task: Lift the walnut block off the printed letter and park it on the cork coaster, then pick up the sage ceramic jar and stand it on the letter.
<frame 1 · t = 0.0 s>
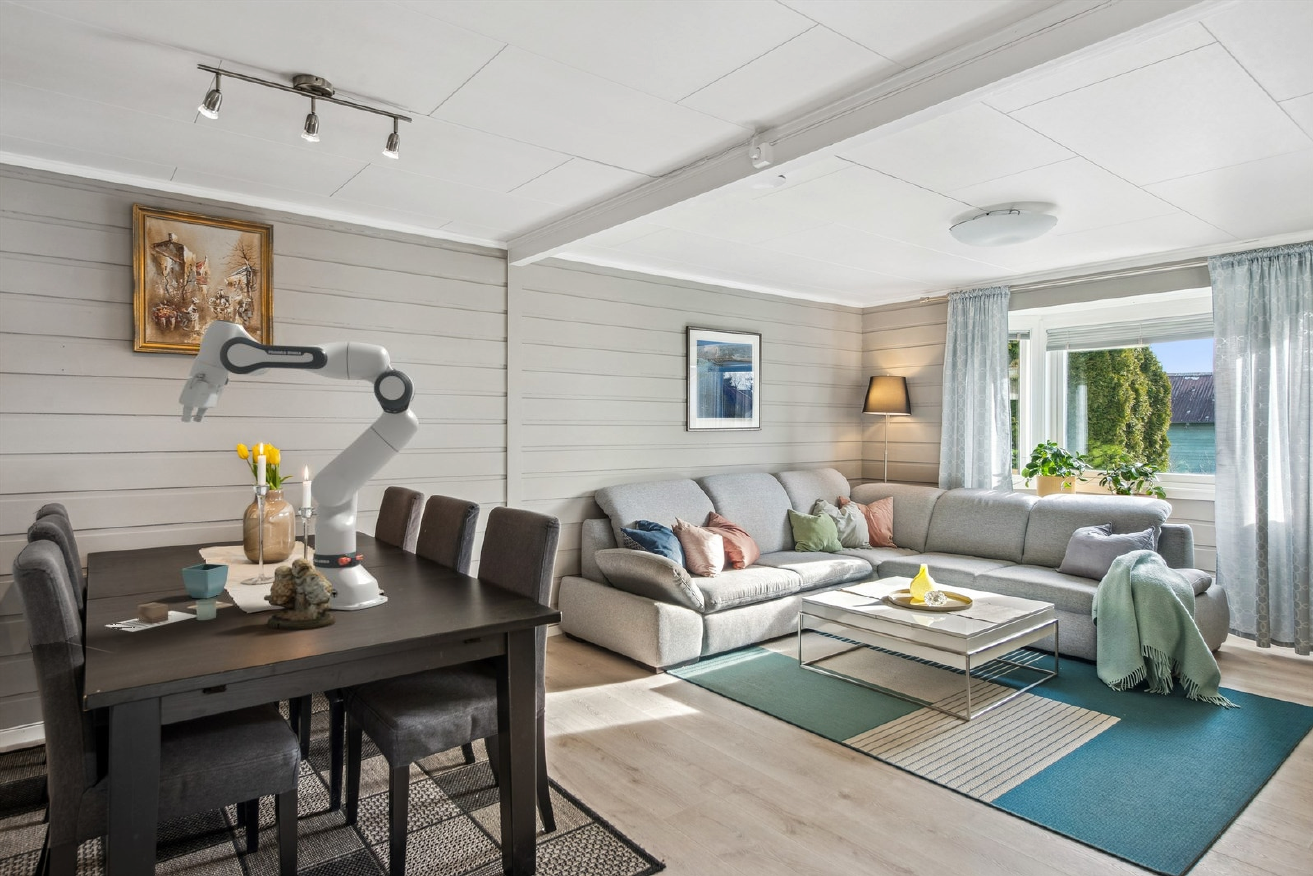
hand: (191, 421, 211), 52 cm above the table, tool tilted 20°, fingers open, 8 cm apart
coaster: (210, 607, 212), on the table
jar: (206, 619, 200), on the table
walnut block: (153, 620, 197), resting on letter
flower pot: (205, 597, 226), on the table
letter: (153, 621, 197), on the table
owl figurine: (299, 624, 196), on the table
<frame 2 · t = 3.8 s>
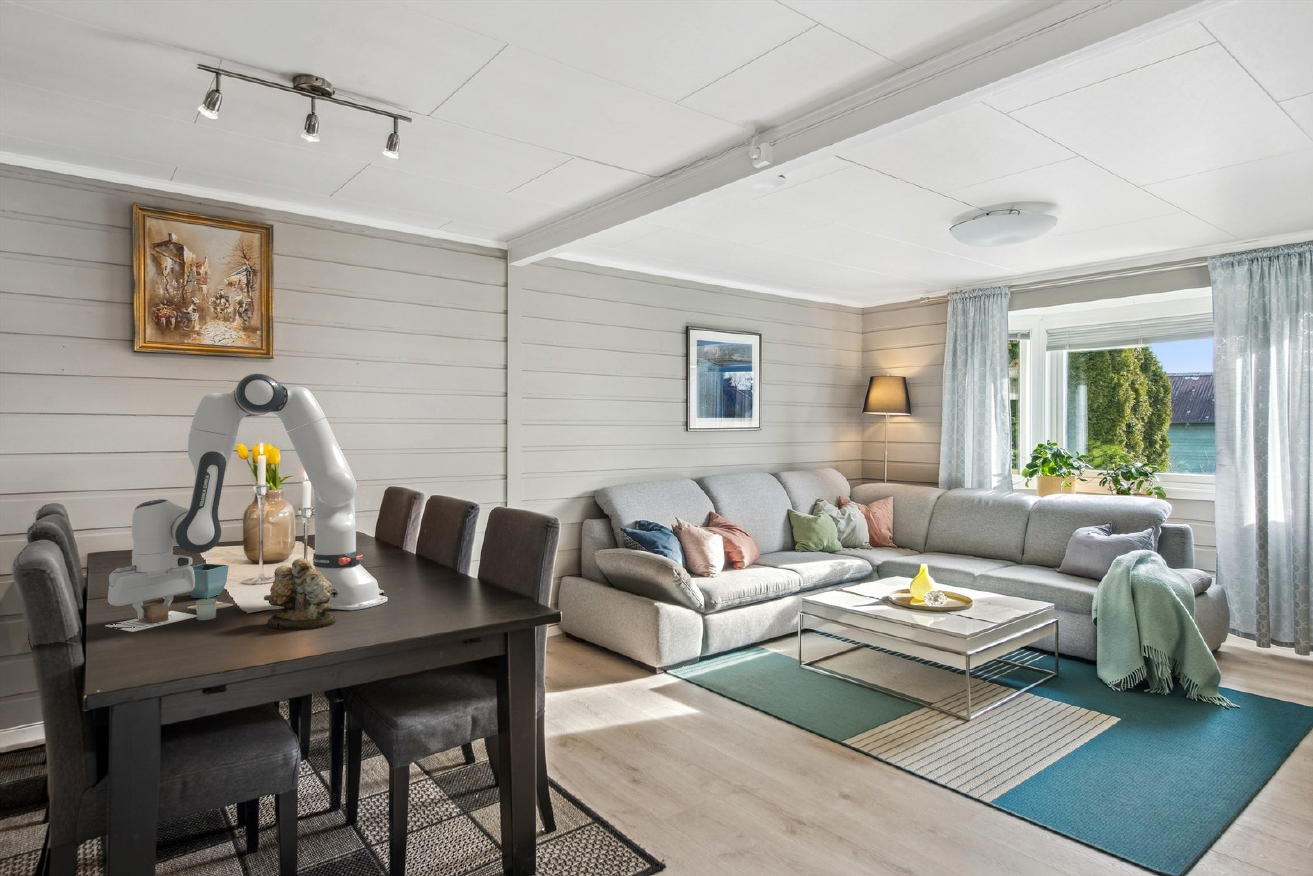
hand: (153, 615, 197), 2 cm above the table, tool pointing down, fingers closed on walnut block, 4 cm apart
walnut block: (153, 620, 197), resting on letter, touching gripper
everything else where it was.
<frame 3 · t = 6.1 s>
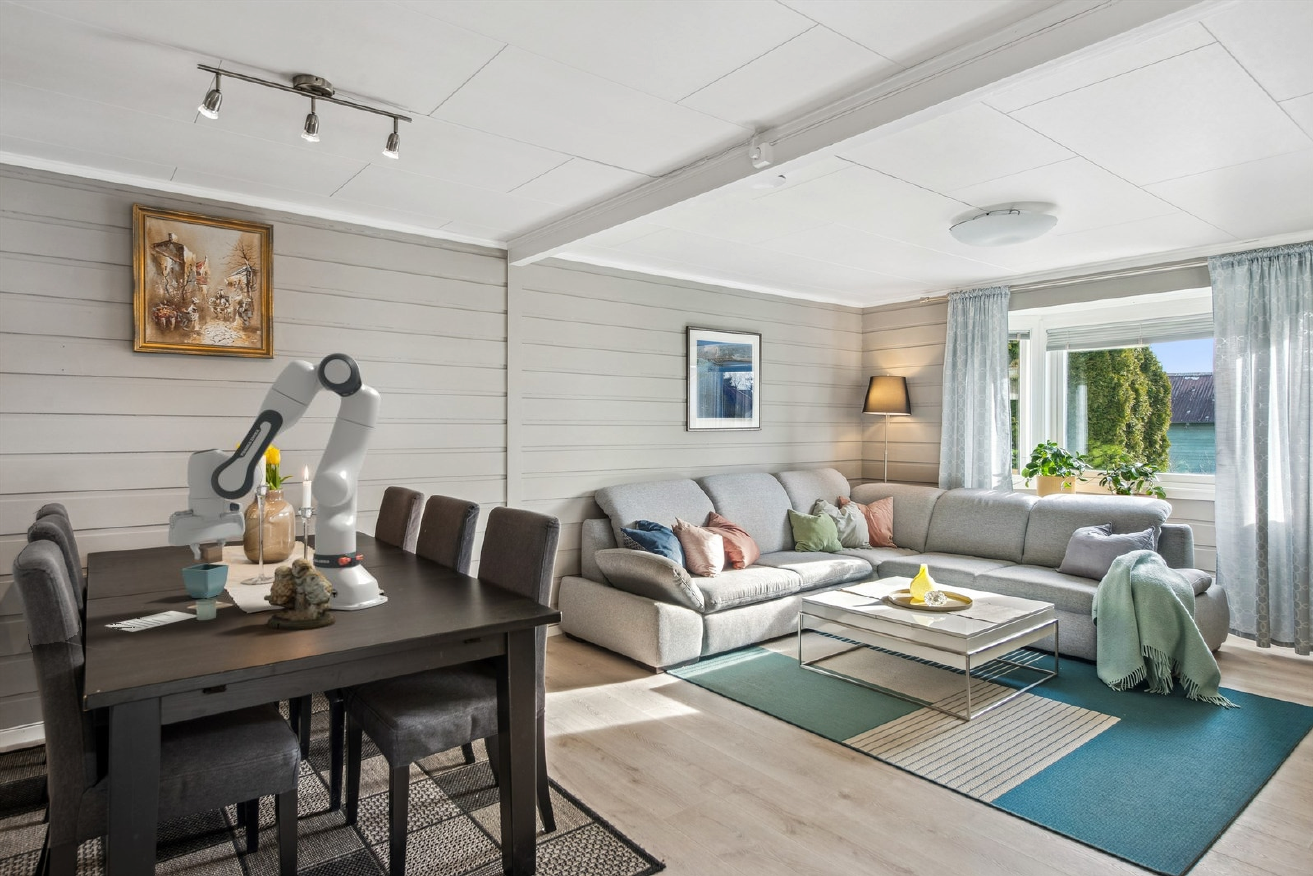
hand: (208, 557, 211), 14 cm above the table, tool pointing down, fingers closed on walnut block, 4 cm apart
walnut block: (208, 561, 211), point 13 cm above the table, touching gripper
everything else where it was.
when the fingers open (3 cm above the table, at t = 8.4 s): walnut block drops 1 cm, resting on coaster.
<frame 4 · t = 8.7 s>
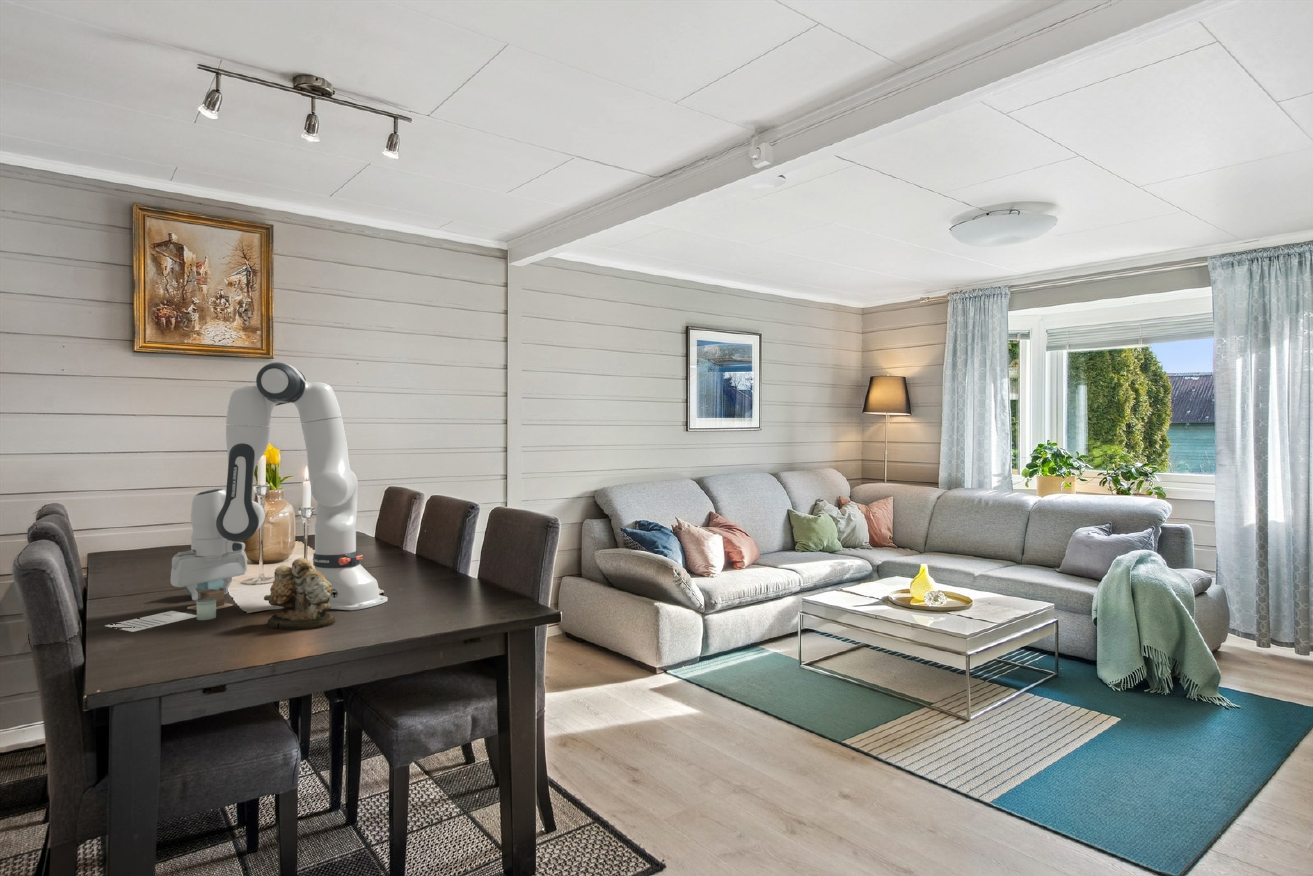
hand: (210, 596, 212), 3 cm above the table, tool pointing down, fingers open, 6 cm apart
walnut block: (210, 605, 212), point 1 cm above the table, touching coaster
everything else where it was.
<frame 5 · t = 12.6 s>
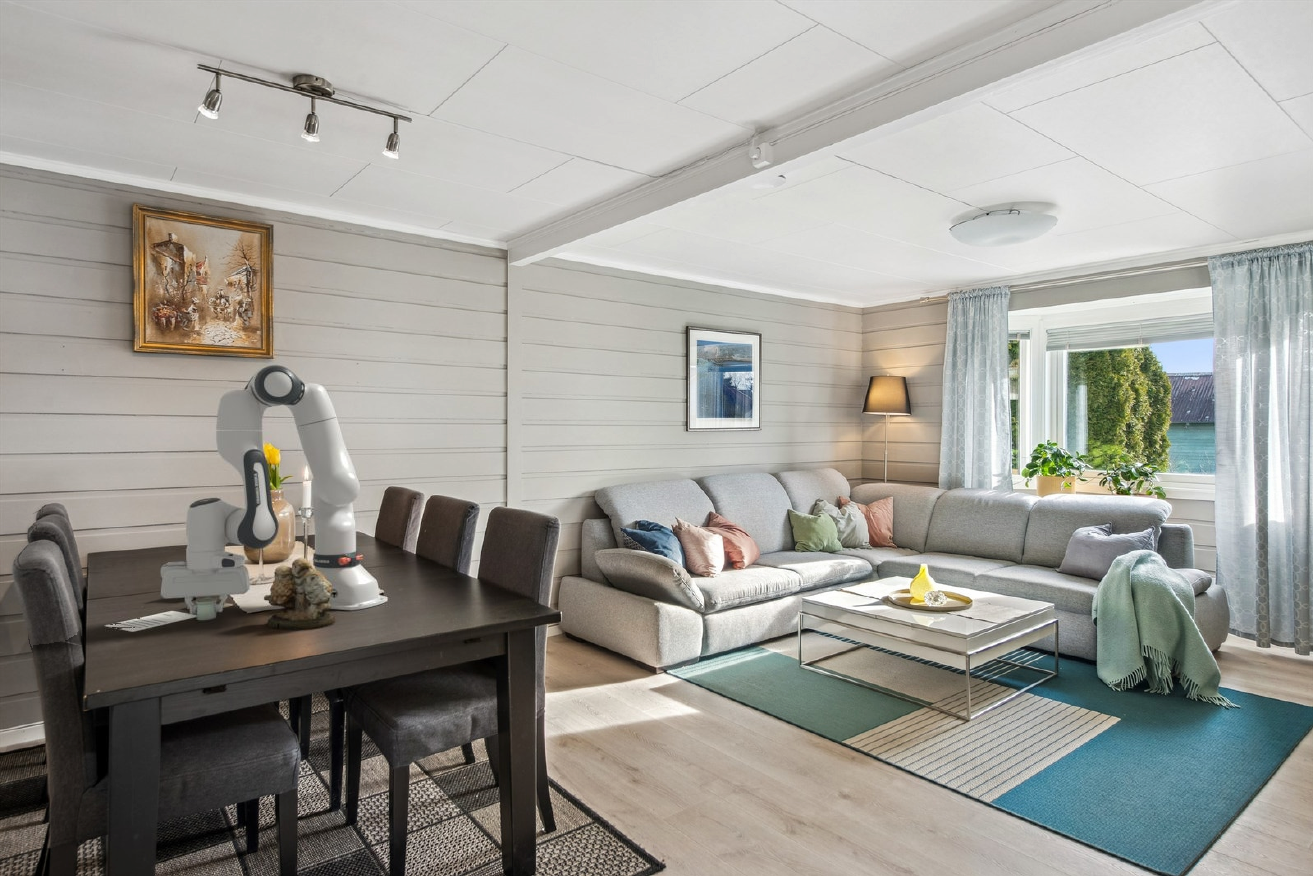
hand: (206, 612, 200), 2 cm above the table, tool pointing down, fingers closed on jar, 4 cm apart
jar: (206, 619, 200), on the table, touching gripper
everything else where it was.
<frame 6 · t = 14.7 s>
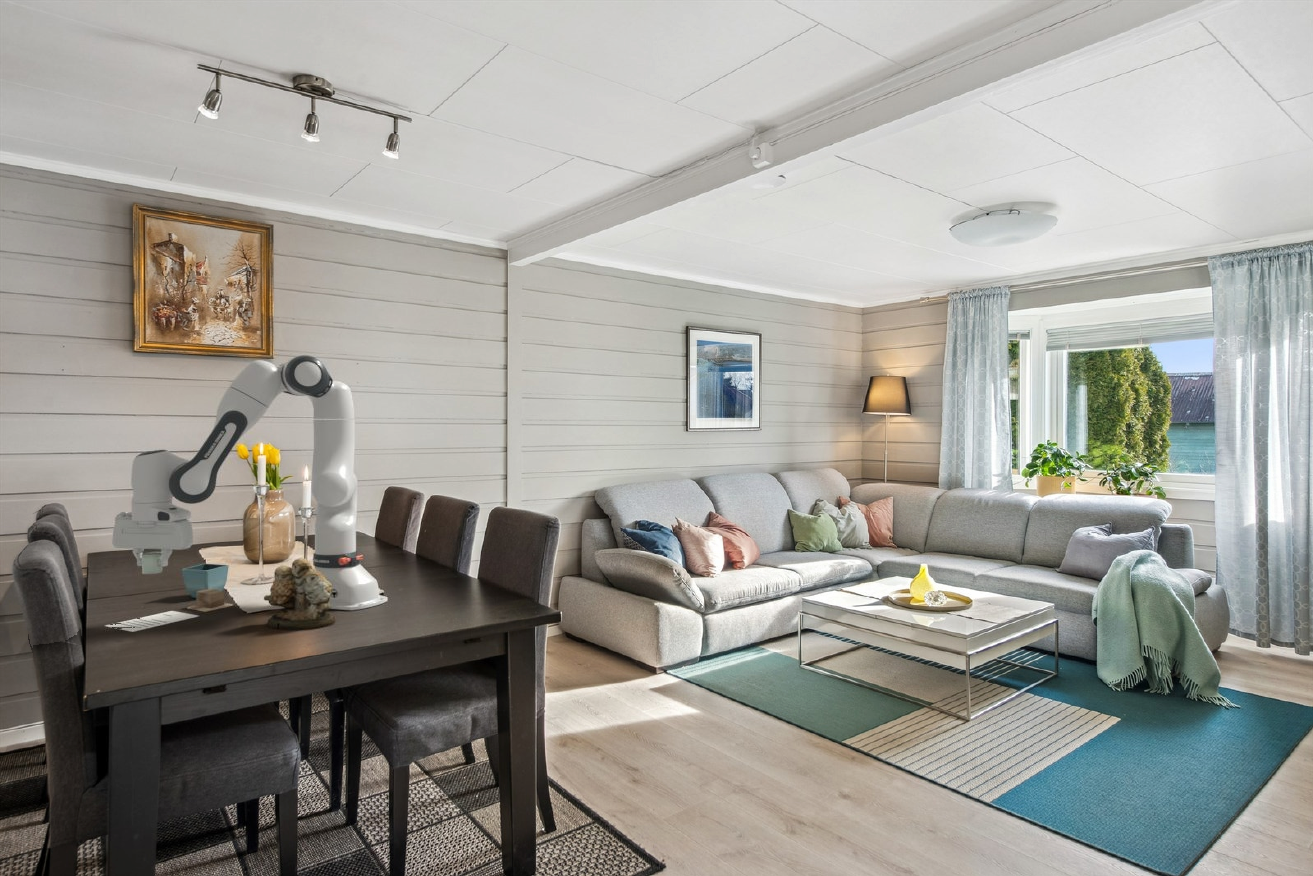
hand: (152, 565, 197), 15 cm above the table, tool pointing down, fingers closed on jar, 4 cm apart
jar: (152, 572, 197), point 13 cm above the table, touching gripper
everything else where it was.
when the fingers open (3 cm above the table, at t = 17.0 s): jar drops 1 cm, resting on letter.
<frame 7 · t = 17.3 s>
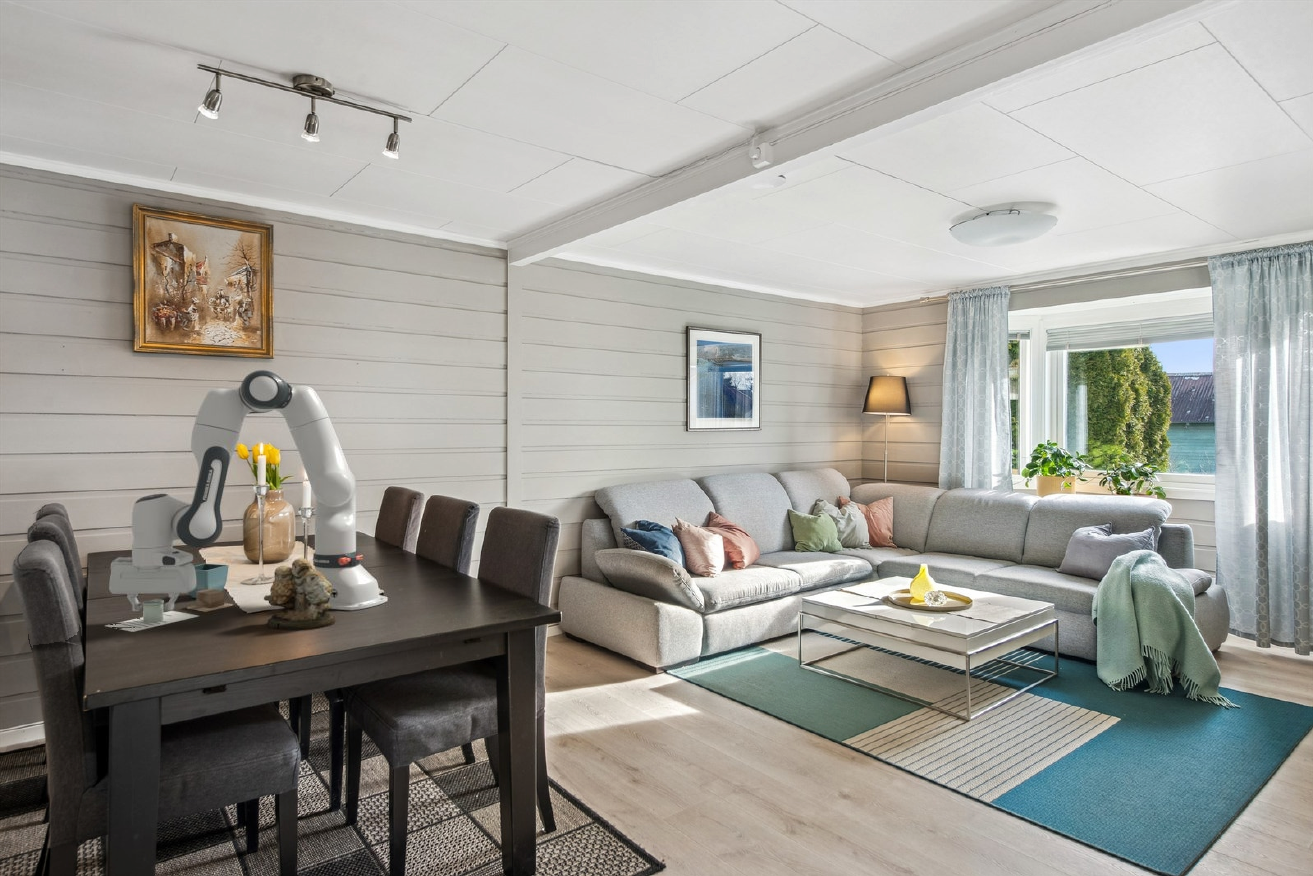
hand: (153, 610, 197), 3 cm above the table, tool pointing down, fingers open, 7 cm apart
jar: (153, 620, 197), resting on letter
everything else where it was.
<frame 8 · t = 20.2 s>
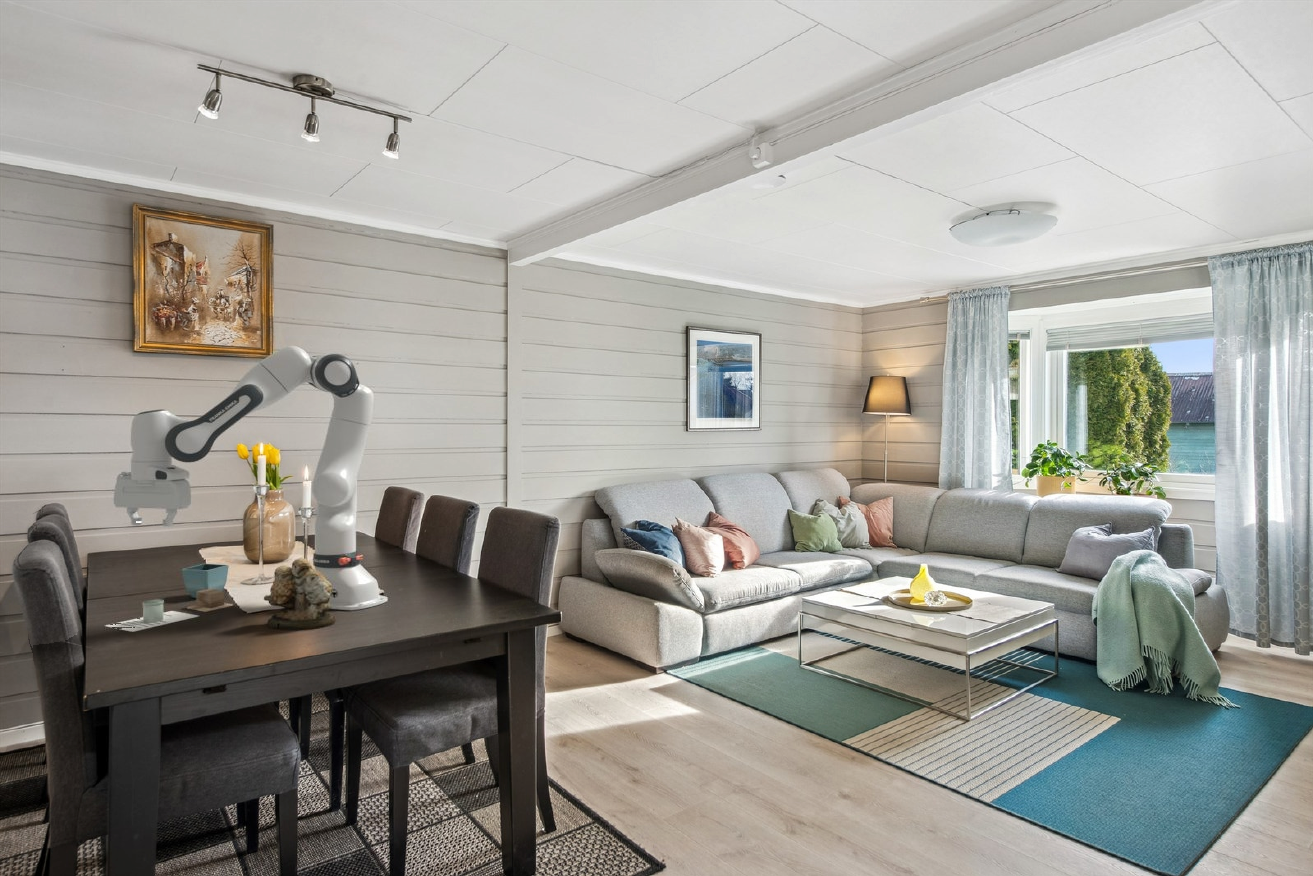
hand: (152, 525, 197), 25 cm above the table, tool pointing down, fingers open, 8 cm apart
nothing on the table moved.
at the end: jar inside the target area on the letter (0.1 cm from its centre), point 0.3 cm above the letter's base; jar tilted 0°; walnut block touching coaster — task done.
